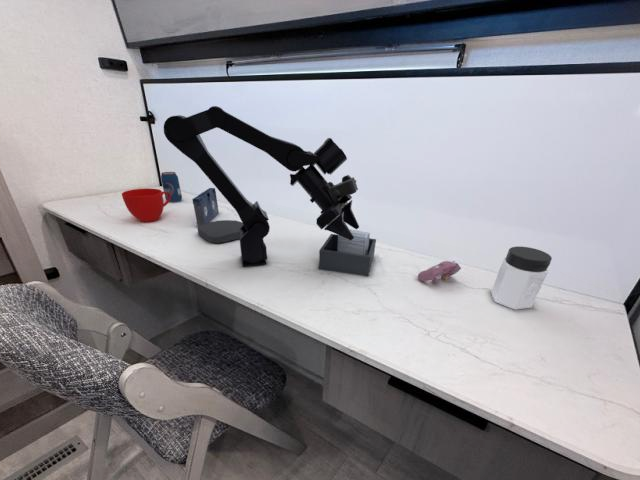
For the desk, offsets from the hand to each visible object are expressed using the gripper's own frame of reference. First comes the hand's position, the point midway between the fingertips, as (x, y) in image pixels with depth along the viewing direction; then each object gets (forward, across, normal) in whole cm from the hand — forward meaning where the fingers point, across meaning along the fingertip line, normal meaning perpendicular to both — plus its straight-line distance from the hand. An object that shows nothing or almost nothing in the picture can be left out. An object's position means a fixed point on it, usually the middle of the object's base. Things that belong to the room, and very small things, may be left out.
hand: (355, 233), depth 83 cm
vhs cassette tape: (-36, +21, +48) cm, 64 cm away
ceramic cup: (-50, +16, +63) cm, 82 cm away
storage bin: (+5, 0, +7) cm, 9 cm away
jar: (+34, -9, -21) cm, 41 cm away
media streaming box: (-26, +9, +39) cm, 48 cm away
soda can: (-57, +41, +70) cm, 99 cm away
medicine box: (+6, 0, +6) cm, 9 cm away
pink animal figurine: (+23, -4, -10) cm, 25 cm away
